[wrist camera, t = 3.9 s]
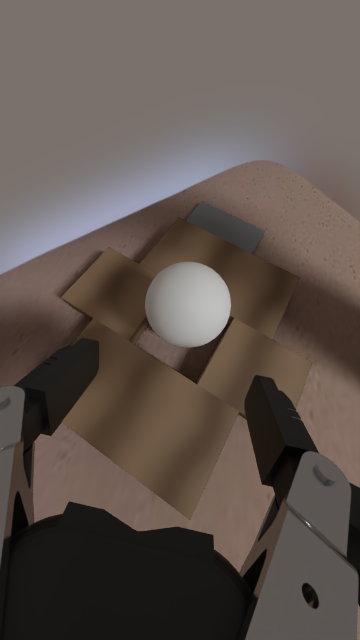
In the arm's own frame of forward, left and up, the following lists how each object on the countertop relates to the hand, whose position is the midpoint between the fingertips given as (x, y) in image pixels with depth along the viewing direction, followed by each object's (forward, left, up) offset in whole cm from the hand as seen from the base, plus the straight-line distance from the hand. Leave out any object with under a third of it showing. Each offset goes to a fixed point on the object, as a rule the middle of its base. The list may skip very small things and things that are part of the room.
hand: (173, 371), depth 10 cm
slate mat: (+5, -19, -11) cm, 22 cm away
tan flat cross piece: (+2, -5, -11) cm, 12 cm away
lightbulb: (+2, -5, -11) cm, 12 cm away
